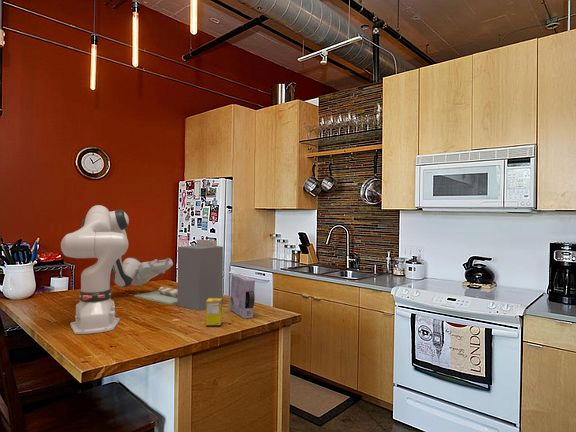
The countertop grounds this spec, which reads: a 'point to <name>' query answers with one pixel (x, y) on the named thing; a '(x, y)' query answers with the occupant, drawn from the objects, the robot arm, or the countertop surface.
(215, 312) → the supplement box
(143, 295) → the sage mat
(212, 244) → the pale wood bar
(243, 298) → the cake pan box
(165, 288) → the long maple bar
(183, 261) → the charcoal stand
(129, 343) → the countertop surface
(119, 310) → the countertop surface
